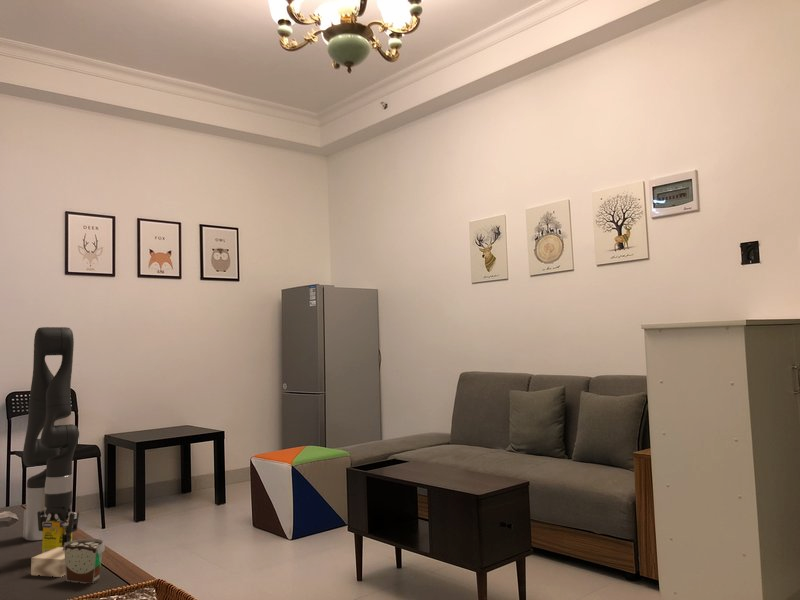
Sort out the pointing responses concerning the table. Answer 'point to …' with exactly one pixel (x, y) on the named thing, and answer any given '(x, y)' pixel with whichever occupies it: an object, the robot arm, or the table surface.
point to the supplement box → (52, 535)
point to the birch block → (49, 563)
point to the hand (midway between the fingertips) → (57, 545)
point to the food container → (83, 560)
